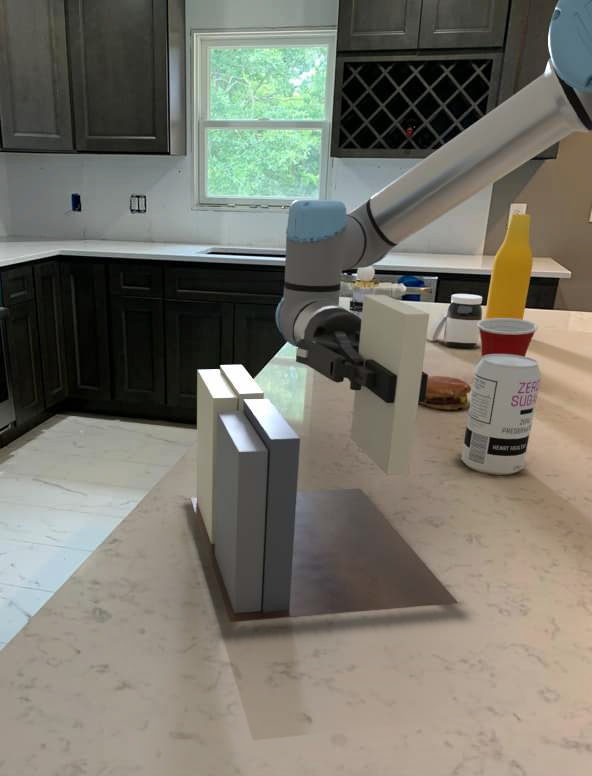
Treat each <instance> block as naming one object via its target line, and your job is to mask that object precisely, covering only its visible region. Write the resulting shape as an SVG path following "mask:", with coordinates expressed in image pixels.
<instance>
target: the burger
mask: <svg viewBox="0 0 592 776" xmlns="http://www.w3.org/2000/svg"><path fill="white" fill-rule="evenodd" d="M471 392H472V387H471V385H470V384H469V383H468V382H467V381H464V380H462V379H459V378H456V377H452V376H443V375H430V376H429V375H428V380H427V387H426V395H425V402H418V404H420V405H423V406H426V407H429V408H432V409H435V410H448V411H449V410H453V411H457V410H459V409H462V410H466V409H469V407H470V403H469V401H468V394H469V393H471Z"/></svg>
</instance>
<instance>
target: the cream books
mask: <svg viewBox="0 0 592 776" xmlns="http://www.w3.org/2000/svg"><path fill="white" fill-rule="evenodd" d="M196 371H197V372H196V373H197V374H196V376H197V377H196V379H197V380H196V411H197V412H196V497H197V503H198V506H199V509H200V512H201V515H202V518H203V521H204V524H205V527H206V530H207V533H208V536H209V539H210V542H211V544H215V511H216V446H217V412H222V411H243V402H244V400H249V399H265V392H264V391H263V389H261V387H260V386H259V384H258V383H257V382H256V381H255V380H254V379H253V378H252V376H251V375H250V373H249V372H248V371H247V370H246V368H245V367H244V366H243V365H242V364H220V365H219V368H218V369H217V368H215V369H196Z"/></svg>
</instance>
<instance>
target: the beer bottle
mask: <svg viewBox="0 0 592 776" xmlns="http://www.w3.org/2000/svg"><path fill="white" fill-rule="evenodd" d="M530 227H531V214H525V213H512V214H511V216H510V219H509V223H508V227H507V231H506V234H505V237H504V240H503V242H502V244H501V246H500V247H499V249H498V250H497V252H496V254H495V256H494V258H493V263H492V269H491V275H490V282H489V286H488V287H489V288H488V295H487V301H486V309H485V314H484V319H483V320H486V319H494V318H511V319H521V320H524V315H525V310H526V303H527V297H528V292H529V286H530V280H531V277H532V276H531V275H532V270H533V265H534V264H533V263H534V261H533V252H532V249H531V246H530Z"/></svg>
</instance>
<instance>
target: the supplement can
mask: <svg viewBox="0 0 592 776" xmlns="http://www.w3.org/2000/svg"><path fill="white" fill-rule="evenodd" d="M541 378H542V373H541V370H540V367H539V361H538V360H537V359H534V358H531V357H528V356H525V357H524V356H519V355H511V354H489V355H485V356H483V357H482V360H480V361H479V362H478V363H477V365H476V366H475V368H474V376H473V382H472V387H471V393H470V401H469V407H468V413H467V420H466V427H465V434H464V440H463V447H462V453H461V460H462V462H463V463H464V464H465V465H466V466H467V467H468V468H470V469H471V470H474V471H477V472H480V473H483V474H488V475H498V476H506V475H513V474H516V473H517V472H520V471H521V470H523V469H524V467H525V461H526V456H527V451H528V446H529V442H530V441H529V440H530V435H531V430H532V425H533V420H534V415H535V410H536V405H537V399H538V393H539V389H540V384H541V380H542V379H541Z"/></svg>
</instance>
